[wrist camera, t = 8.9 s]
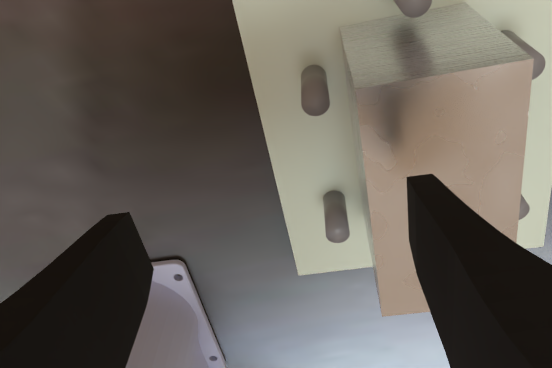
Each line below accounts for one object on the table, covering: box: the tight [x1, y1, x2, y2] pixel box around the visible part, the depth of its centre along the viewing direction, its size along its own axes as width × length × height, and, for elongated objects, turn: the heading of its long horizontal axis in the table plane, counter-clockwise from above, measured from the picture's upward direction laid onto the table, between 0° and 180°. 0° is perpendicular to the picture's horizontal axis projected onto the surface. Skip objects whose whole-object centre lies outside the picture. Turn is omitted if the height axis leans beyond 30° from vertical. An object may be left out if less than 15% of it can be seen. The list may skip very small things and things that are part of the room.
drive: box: [339, 2, 534, 316], centre depth 17 cm, size 9×5×6 cm, turn 12°
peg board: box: [232, 0, 552, 275], centre depth 19 cm, size 15×12×4 cm
